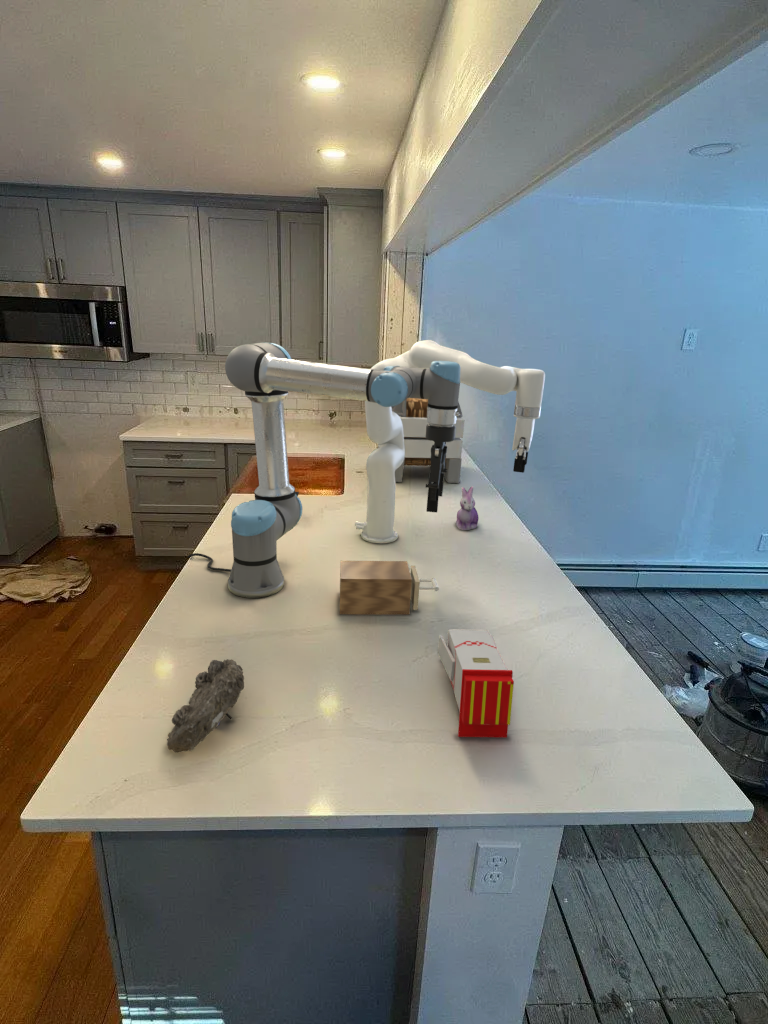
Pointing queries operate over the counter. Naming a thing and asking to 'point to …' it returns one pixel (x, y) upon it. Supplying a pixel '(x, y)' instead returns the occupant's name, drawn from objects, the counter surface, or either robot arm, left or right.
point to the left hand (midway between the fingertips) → (434, 503)
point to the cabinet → (375, 587)
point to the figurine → (467, 511)
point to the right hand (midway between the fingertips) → (520, 467)
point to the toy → (478, 682)
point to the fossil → (206, 705)
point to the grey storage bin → (419, 446)
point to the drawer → (416, 588)
